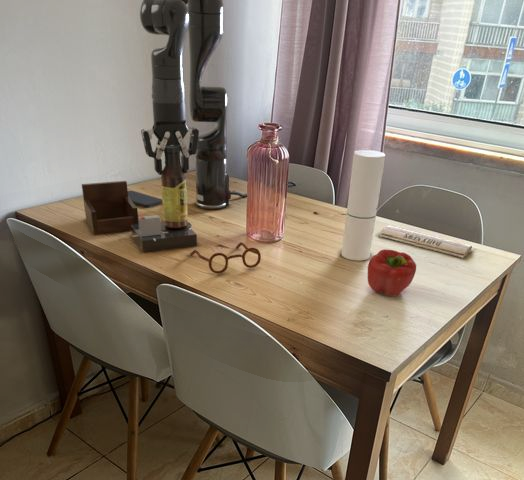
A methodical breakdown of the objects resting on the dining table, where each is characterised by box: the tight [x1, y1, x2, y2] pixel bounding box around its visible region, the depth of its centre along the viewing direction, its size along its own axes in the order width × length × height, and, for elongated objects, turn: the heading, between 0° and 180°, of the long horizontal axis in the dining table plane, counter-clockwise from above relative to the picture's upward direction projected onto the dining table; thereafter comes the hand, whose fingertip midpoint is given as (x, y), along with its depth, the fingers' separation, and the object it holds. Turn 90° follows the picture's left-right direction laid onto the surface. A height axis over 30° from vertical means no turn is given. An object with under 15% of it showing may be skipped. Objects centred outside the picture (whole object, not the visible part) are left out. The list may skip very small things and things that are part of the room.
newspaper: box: [378, 224, 473, 259], centre depth 148 cm, size 24×7×2 cm, turn 55°
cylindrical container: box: [341, 149, 386, 261], centre depth 133 cm, size 7×7×25 cm
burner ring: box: [160, 220, 192, 232], centre depth 143 cm, size 9×9×1 cm
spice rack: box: [81, 180, 139, 235], centre depth 148 cm, size 12×12×10 cm
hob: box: [130, 221, 198, 253], centre depth 141 cm, size 16×13×3 cm
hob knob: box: [138, 214, 161, 237], centre depth 136 cm, size 5×2×5 cm, turn 115°
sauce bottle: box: [160, 145, 189, 228], centre depth 138 cm, size 7×6×20 cm
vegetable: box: [367, 248, 417, 297], centre depth 119 cm, size 11×10×10 cm
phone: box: [127, 190, 163, 208], centre depth 169 cm, size 7×1×15 cm
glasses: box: [189, 241, 262, 275], centre depth 131 cm, size 13×13×5 cm
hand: (172, 172), depth 136 cm, fingers open, 5 cm apart
